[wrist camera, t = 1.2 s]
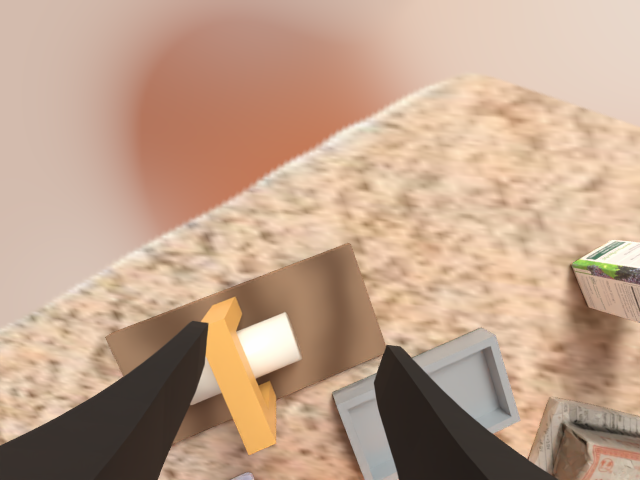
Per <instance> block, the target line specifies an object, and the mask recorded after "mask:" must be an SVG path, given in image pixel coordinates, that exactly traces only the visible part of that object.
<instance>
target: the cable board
mask: <svg viewBox="0 0 640 480" xmlns="http://www.w3.org/2000/svg"><path fill="white" fill-rule="evenodd" d="M233 297H236V299H237V302H238V304H239V307H240V309H241V312H242V316H241V319H240V321H239V324H238V327H237V330H236V332H237V331H239V330H242V329H244V328H247V327H249V326H252V325H254V324H257V323H259V322H262V321H264V320H267V319H269V318H272V317H274V316H277V315H279V314H282V313H284V312H286V313H287V315H288V317H289V320H290V322H291V324H292V327H293V330H294V332H295V335H296V338H297V341H298V344H299V348H300V351H301V355H302V359H301V360H299V361H296V362H294V363H292V364H289V365H287V366H285V367H282V368H280V369H277V370H275V371H273V372H270V373H268V374H265V375H263V376H261V377H258V378H256V381H257V384H258V385H261V384H263V383H266V382H268V381H270V383H271V385H272V387H273V390H274V392H275V395H276V400H277V399H279V398H282V397H284V396H286V395H289V394H291V393H293V392H296V391H298V390H300V389H303V388H305V387H307V386H310V385H312V384H314V383H317V382H319V381H321V380H324V379H326V378H328V377H331V376H333V375H335V374H337V373H340V372H342V371H344V370H347V369H349V368H351V367H354V366H356V365H358V364H361V363H363V362H365V361H368V360H370V359H372V358H375V357H377V356H379V355H382V354H384V351H385V348H386V345H385V342H384V339H383V336H382V333H381V330H380V327H379V325H378V322H377V319H376V316H375V313H374V310H373V307H372V304H371V301H370V298H369V296H368V293H367V290H366V287H365V284H364V281H363V278H362V275H361V272H360V270H359V267H358V264H357V261H356V258H355V255H354V252H353V249H352V246H351V244H349V243H347V244H344V245H342V246H339V247H336V248H334V249H331V250H328V251H326V252H323V253H321V254H318V255H315V256H313V257H310V258H307V259H305V260H302V261H299V262H297V263H294V264H292V265H289V266H286V267H284V268H281V269H278V270H276V271H273V272H270V273H268V274H265V275H263V276H260V277H257V278H255V279H252V280H249V281H247V282H244V283H242V284H239V285H236V286H234V287H231V288H228V289H226V290H223V291H220V292H218V293H215V294H213V295H210V296H207V297H205V298H202V299H199V300H197V301H194V302H191V303H189V304H186V305H184V306H181V307H178V308H176V309H173V310H170V311H168V312H165V313H163V314H160V315H157V316H155V317H152V318H149V319H147V320H144V321H141V322H139V323H136V324H134V325H131V326H128V327H126V328H123V329H120V330H118V331H115V332H113V333H111V334H109V335H108V336H107V337H105V338H106V340H107V342H108V344H109V346H110V349H111V351H112V353H113V355H114V357H115V359H116V361H117V363H118V365H119V367H120V369H121V372H122V374H123V376H125V375H127V374H128V373H129V372H131V371H132V370H133V369H135V368H136V367H137V366H139V365H140V364H141V363H143V362H144V361H145V360H147V359H148V358H149V357H150V356H152V355H153V354H154V353H155V352H157V351H158V350H159V349H160V348H161V347H163V346H164V345H165V344H166V343H167V342H168V341H170V340H171V339H172V338H173V337H174V336H175V335H176V334H178V333H179V332H180V331H181V330H182V329H183V328H184V327H185V326H186V325H187V324H188V323H190V322H191V321H198V322H201V321H202V319H203V318H204V316H205V315H206V314H207V312H208V311H209V309H210V308H211V307H212V305H215V304H217V303H220V302H222V301H225V300H228V299H230V298H233ZM230 419H233V417H232V415H231V413H230V411H229V408H228V406H227V404H226V401H225V399H224V397H223V394H222V393H220V394H218V395H215V396H213V397H210V398H208V399H206V400H203V401H201V402H198V403H196V404H194V405H190V406H189V408H188V410H187V413H186V415H185V417H184V419H183V421H182V424H181V426H180V428H179V430H178V432H177V435H176V437H175V439H174V441H173V443H172V444H174V443H177V442H179V441H181V440H184V439H186V438H188V437H191V436H193V435H195V434H198V433H200V432H202V431H205V430H207V429H209V428H212V427H214V426H216V425H219V424H221V423H223V422H226V421H228V420H230Z"/></svg>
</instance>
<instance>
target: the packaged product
mask: <svg viewBox="0 0 640 480" xmlns="http://www.w3.org/2000/svg"><path fill="white" fill-rule="evenodd" d="M528 460H529V461H531V462H532V463H534V464H535V465H537V466H538V467H540V468H541V469H543V470H544V471H546V472H547V473H549V474H551V475H552V476H554V477H555V478H557V479H558V480H640V417H639V416H636V415H632V414H628V413H624V412H620V411H616V410H612V409H608V408H604V407H600V406H595V405H591V404H586V403H581V402H576V401H571V400H566V399H560V398H555V397H550V398H549V400H548V403H547V405H546V408H545V411H544V414H543V417H542V420H541V423H540V426H539V429H538V432H537V434H536V437H535V440H534V443H533V446H532V450H531V453H530V456H529V459H528Z"/></svg>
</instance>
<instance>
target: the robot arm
mask: <svg viewBox="0 0 640 480" xmlns="http://www.w3.org/2000/svg"><path fill="white" fill-rule="evenodd" d="M208 325H209V323H206V322H198V321H191V322H190V323H188V324H187V325H186V326H185V327H184V328H183V329H182V330H181V331H180V332H179V333H178V334H176V335H175V336H174V337H173V338H172V339H171V340H170V341H168V342H167V343H166V344H165V345H164V346H163V347H161V348H160V349H159V350H158V351H157V352H155V353H154V354H153V355H152V356H150V357H149V358H148V359H147V360H145V361H144V362H143V363H141V364H140V365H139V366H137V367H136V368H135V369H133V370H132V371H131V372H129V373H128V374H127V375H125V376H124V377H122V378H121V379H120V380H118V381H117V382H115V383H114V384H112V385H111V386H109V387H108V388H106V389H105V390H103V391H101V392H100V393H98V394H97V395H95V396H94V397H92V398H90V399H89V400H87V401H85V402H83V403H82V404H80V405H78V406H77V407H75V408H73V409H71V410H69V411H68V412H66V413H64V414H62V415H61V416H59V417H57V418H55V419H53V420H51V421H49V422H48V423H46V424H44V425H42V426H40V427H38V428H36V429H34V430H32V431H30V432H28V433H26V434H24V435H22V436H20V437H17V438H15V439H13V440H11V441H9V442H7V443H5V444H3V445H1V446H0V480H158V477H159V475H160V472H161V469H162V467H163V464H164V462H165V459H166V457H167V454H168V452H169V450H170V448H171V446H172V443H173V441H174V439H175V437H176V435H177V432H178V430H179V428H180V426H181V424H182V421H183V419H184V417H185V415H186V413H187V410H188V408H189V406H190V404H191V402H192V399H193V397H194V395H195V393H196V390H197V387H198V384H199V381H200V378H201V375H202V372H203V369H204V365H205V356H206V346H207V335H208ZM374 388H375V395H376V400H377V406H378V410H379V414H380V417H381V420H382V424H383V427H384V431H385V434H386V437H387V440H388V444H389V447H390V450H391V454H392V457H393V460H394V464H395V467H396V470H397V474H398V478H399V480H558V479H557V478H555V477H554V476H552V475H551V474H549V473H547V472H546V471H544V470H543V469H541V468H540V467H538V466H537V465H535V464H534V463H532V462H531V461H529V460H528V459H526V458H525V457H523V456H522V455H521V454H519V453H518V452H516V451H515V450H514V449H512V448H511V447H510V446H508V445H507V444H505V443H504V442H503V441H501V440H500V439H499V438H497V437H496V436H495V435H494V434H492V433H491V432H490V431H488V430H487V429H486V428H485V427H484V426H482V425H481V424H480V423H479V422H478V421H476V420H475V419H474V418H473V417H471V416H470V415H469V414H468V413H467V412H466V411H465V410H464V409H462V408H461V407H460V406H459V405H458V404H457V403H456V402H455V401H454V400H453V399H452V398H451V397H450V396H448V395H447V394H446V393H445V392H444V391H443V390H442V389H441V388H440V387H439V386H438V385H437V384H436V383H435V382H434V381H433V380H432V379H431V378H430V377H429V375H428V374H427V373H426V372H425V371H424V370H423V369H422V368H421V367H420V366H419V365H418V364H417V363H416V362H415V361H414V360H413V359H412V358H411V357H410V356H409V355H408V354H407V352H406V351H405V350H403V349H402V348H401V347H399V346H391V345H386V348H385V351H384V354H383V357H382V360H381V363H380V366H379V369H378V371H377V374H376V377H375V380H374ZM231 480H255V479H254V477H253V475H252V473H250V472H247V473H244V474H242V475H240V476H237V477H235V478H233V479H231Z"/></svg>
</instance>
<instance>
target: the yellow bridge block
mask: <svg viewBox="0 0 640 480" xmlns="http://www.w3.org/2000/svg"><path fill="white" fill-rule="evenodd" d="M241 316H242V312H241V309H240V307H239V304H238V302H237V299H236V297H233V298H230V299H228V300H225V301H222V302H220V303H217V304H215V305H212V307H211V308H210V309H209V311H208V312H207V314H206V315H205V316H204V318H203V319H202V321H201V322H206V323H209V325H208V335H207V346H206V358H207V360H208V362H209V365H210V367H211V369H212V371H213V374H214V376H215V378H216V381H217V383H218V385H219V388H220V390H221V392H222V394H223V397H224V399H225V401H226V404H227V406H228V408H229V411H230V413H231V415H232V417H233V420H234V422H235V424H236V427H237V429H238V431H239V434H240V436H241V438H242V440H243V443H244V445H245V447H246V450H247V452H248V454H249V455H251V454H253V453H255V452H258V451H260V450H262V449H264V448H267V447H269V446H271V445H273V444H276V395H275V392H274V390H273V387H272V385H271V383H270V381H268V382H266V383H263V384H261V385H258V384H257V381H256V379H255V376H254V374H253V372H252V369H251V367H250V364H249V362H248V360H247V357H246V355H245V352H244V350H243V347H242V345H241V343H240V340H239V338H238V335H237V333H236V330H237V327H238V324H239V321H240V319H241Z"/></svg>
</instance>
